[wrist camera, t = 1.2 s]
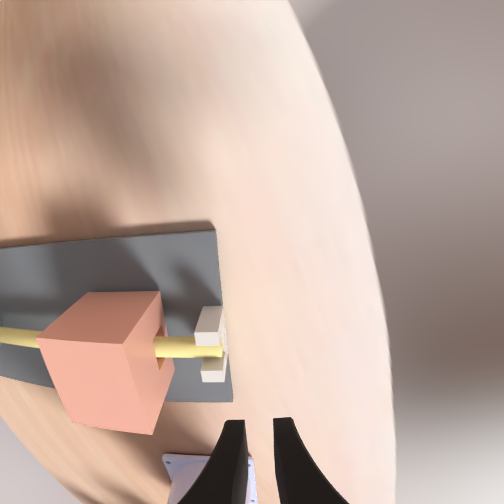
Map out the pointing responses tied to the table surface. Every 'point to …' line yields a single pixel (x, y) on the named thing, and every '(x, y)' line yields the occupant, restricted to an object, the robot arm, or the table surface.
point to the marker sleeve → (110, 360)
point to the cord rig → (121, 280)
